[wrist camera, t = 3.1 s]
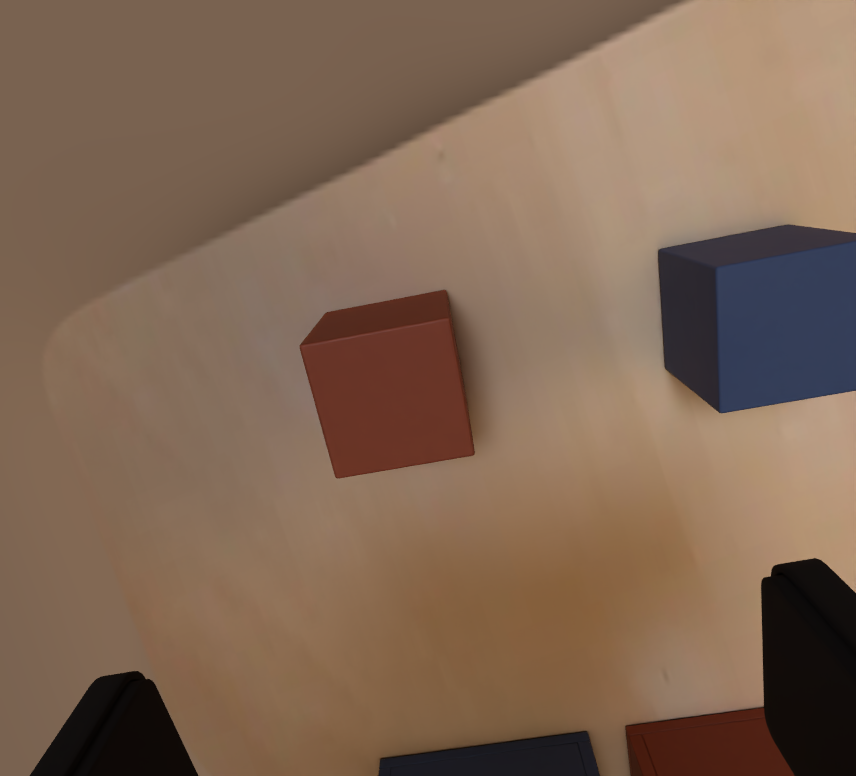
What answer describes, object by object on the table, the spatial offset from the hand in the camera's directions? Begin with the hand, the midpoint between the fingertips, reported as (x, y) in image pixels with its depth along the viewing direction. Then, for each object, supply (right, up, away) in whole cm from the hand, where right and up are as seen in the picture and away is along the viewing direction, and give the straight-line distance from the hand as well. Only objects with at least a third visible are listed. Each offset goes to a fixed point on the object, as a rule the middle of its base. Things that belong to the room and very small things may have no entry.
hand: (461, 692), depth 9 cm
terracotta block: (-2, +6, +13) cm, 14 cm away
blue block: (+10, +8, +12) cm, 18 cm away
